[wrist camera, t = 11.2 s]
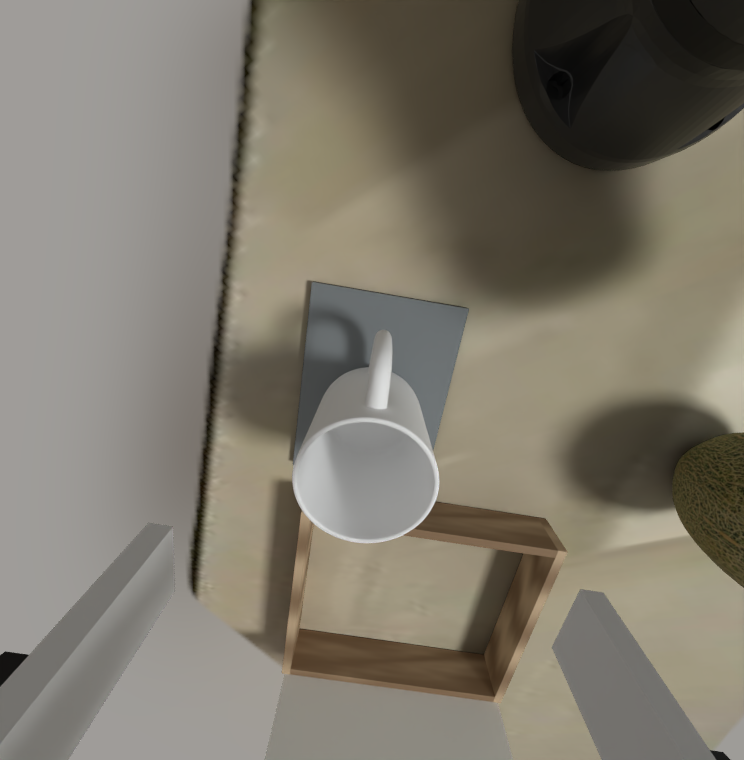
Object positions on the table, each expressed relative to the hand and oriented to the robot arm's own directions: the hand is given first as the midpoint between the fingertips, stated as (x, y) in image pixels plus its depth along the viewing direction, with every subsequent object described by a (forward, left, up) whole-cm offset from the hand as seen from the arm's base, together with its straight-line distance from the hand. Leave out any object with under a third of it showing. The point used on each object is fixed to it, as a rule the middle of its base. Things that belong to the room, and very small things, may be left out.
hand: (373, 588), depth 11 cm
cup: (0, 0, -18) cm, 18 cm away
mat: (0, 0, -19) cm, 19 cm away
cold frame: (+20, +7, -19) cm, 28 cm away
